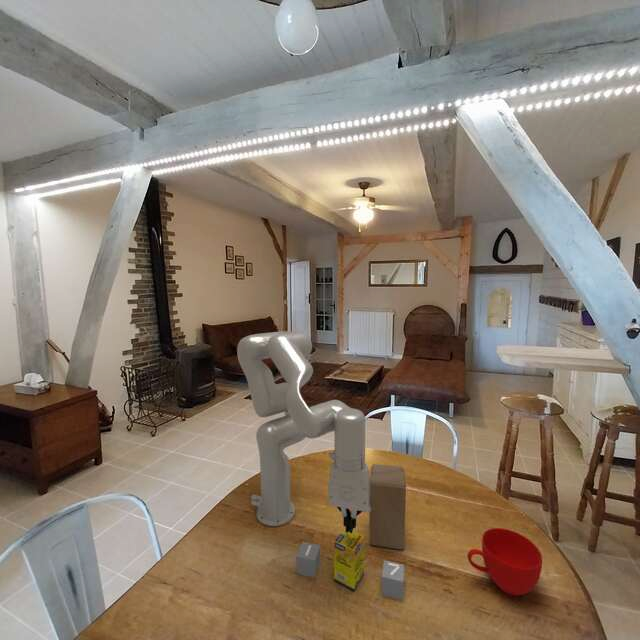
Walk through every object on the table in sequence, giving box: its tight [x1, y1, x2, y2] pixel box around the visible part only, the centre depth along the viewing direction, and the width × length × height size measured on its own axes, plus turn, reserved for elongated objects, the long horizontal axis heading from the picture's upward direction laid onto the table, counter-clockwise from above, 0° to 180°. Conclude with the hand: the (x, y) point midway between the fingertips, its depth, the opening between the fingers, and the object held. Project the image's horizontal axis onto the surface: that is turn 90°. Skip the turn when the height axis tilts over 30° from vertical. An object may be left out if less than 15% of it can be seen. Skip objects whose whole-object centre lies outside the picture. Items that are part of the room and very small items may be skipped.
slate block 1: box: [295, 541, 321, 579], centre depth 87 cm, size 5×5×5 cm
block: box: [368, 463, 407, 550], centre depth 97 cm, size 10×10×20 cm
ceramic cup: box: [467, 527, 543, 597], centre depth 82 cm, size 13×17×10 cm
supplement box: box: [333, 527, 365, 592], centre depth 84 cm, size 6×6×11 cm
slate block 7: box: [381, 559, 405, 601], centre depth 81 cm, size 5×5×5 cm
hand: (349, 528), depth 83 cm, fingers closed
